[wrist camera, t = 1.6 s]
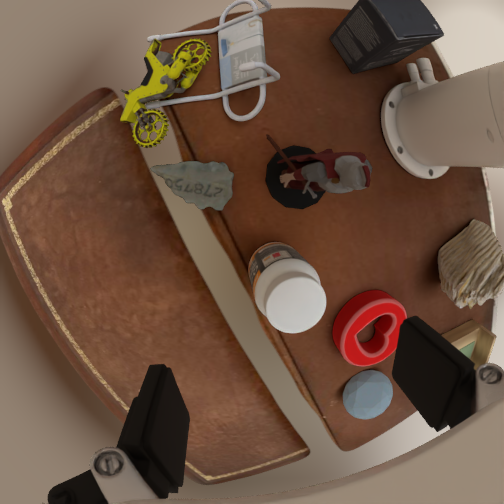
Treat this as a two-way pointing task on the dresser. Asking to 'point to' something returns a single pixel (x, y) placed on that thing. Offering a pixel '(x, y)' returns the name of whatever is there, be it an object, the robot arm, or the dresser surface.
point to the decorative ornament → (362, 314)
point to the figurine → (314, 174)
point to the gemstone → (367, 394)
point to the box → (384, 32)
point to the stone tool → (198, 182)
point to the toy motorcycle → (161, 86)
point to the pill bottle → (286, 288)
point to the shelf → (472, 341)
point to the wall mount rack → (234, 58)
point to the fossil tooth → (472, 266)
